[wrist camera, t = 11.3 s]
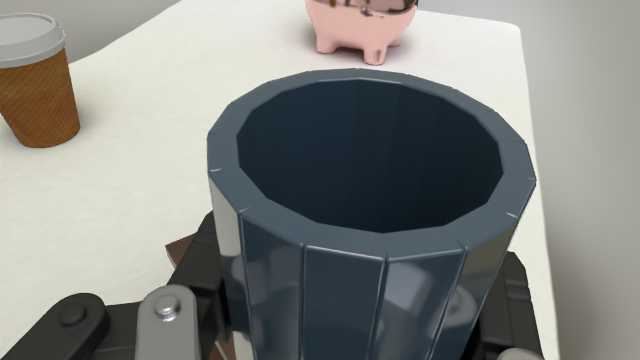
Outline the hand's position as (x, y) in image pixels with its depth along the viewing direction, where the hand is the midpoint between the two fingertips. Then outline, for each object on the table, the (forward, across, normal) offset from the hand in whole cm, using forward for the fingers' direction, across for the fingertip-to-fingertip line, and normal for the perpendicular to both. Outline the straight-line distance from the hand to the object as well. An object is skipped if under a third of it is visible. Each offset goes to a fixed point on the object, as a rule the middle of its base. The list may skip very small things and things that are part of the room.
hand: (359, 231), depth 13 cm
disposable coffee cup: (+28, +37, +20) cm, 50 cm away
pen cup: (-2, 0, +6) cm, 7 cm away
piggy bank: (+61, +7, +20) cm, 64 cm away
